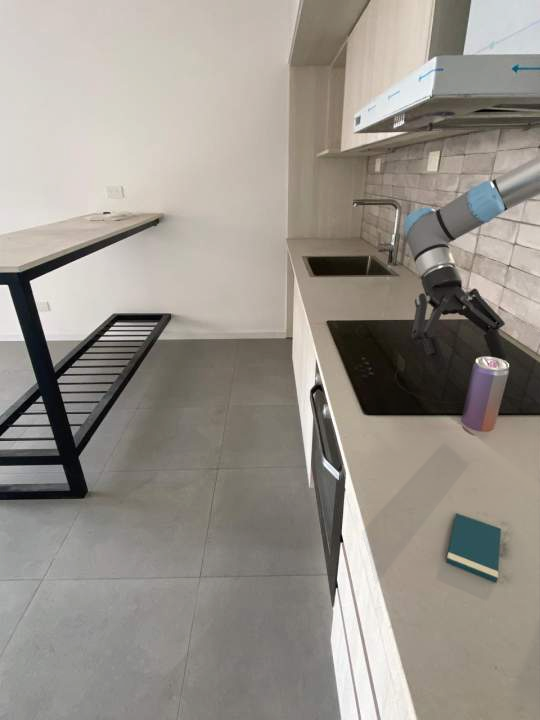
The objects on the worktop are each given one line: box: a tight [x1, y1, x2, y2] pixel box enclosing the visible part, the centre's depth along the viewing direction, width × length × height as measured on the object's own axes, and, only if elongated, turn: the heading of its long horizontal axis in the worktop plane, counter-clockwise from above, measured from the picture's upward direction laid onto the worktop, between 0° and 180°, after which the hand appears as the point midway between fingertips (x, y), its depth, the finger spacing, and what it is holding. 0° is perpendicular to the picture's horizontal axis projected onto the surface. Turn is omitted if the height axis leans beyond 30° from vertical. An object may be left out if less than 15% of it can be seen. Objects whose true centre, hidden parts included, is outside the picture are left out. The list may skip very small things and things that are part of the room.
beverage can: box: [461, 356, 510, 437], centre depth 77 cm, size 6×6×15 cm
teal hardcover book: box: [445, 512, 502, 584], centre depth 55 cm, size 9×6×1 cm, turn 150°
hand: (471, 365), depth 79 cm, fingers open, 13 cm apart
